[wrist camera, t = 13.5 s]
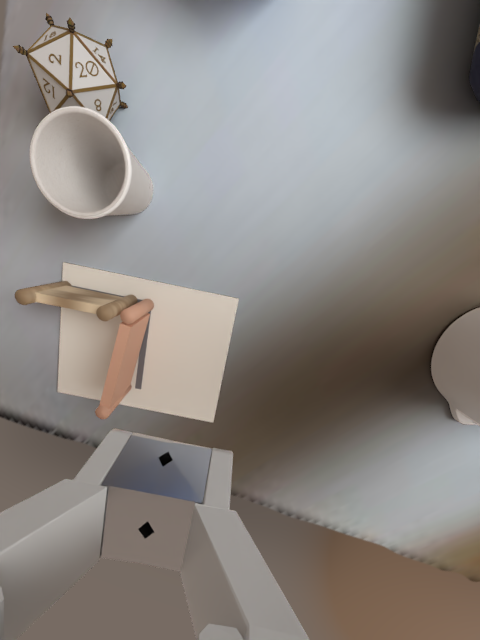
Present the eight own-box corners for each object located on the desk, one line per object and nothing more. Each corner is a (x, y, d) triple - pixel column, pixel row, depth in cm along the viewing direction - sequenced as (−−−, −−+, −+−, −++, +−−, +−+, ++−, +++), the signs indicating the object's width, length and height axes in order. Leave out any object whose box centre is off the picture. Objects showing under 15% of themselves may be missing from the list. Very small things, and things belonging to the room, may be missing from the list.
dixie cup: (106, 233, 34) (50, 228, 24) (83, 157, 32) (11, 119, 22) (173, 218, 33) (142, 206, 24) (153, 140, 31) (111, 92, 22)
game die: (118, 98, 34) (116, -11, 25) (137, 160, 32) (142, 70, 24) (28, 89, 30) (-12, -43, 21) (46, 159, 29) (11, 51, 20)
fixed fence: (139, 295, 36) (112, 307, 29) (137, 307, 36) (111, 322, 29) (60, 279, 35) (14, 287, 28) (60, 291, 36) (14, 303, 29)
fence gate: (143, 296, 35) (121, 307, 29) (155, 300, 35) (136, 312, 29) (118, 389, 39) (94, 416, 32) (130, 392, 39) (107, 420, 32)
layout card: (238, 298, 36) (238, 299, 35) (213, 420, 40) (213, 422, 40) (64, 262, 35) (62, 262, 34) (59, 390, 40) (57, 392, 39)
